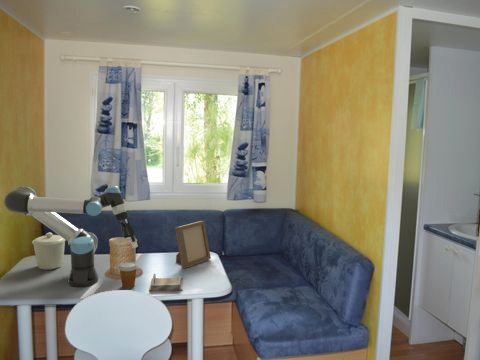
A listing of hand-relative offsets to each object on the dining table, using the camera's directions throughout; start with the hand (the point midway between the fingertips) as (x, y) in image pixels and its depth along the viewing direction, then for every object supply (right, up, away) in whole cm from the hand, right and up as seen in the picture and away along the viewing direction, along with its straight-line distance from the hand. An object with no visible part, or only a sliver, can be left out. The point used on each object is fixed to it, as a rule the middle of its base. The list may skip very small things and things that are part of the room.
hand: (133, 247), depth 224 cm
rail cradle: (+21, -18, -12) cm, 30 cm away
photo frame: (+30, -13, +25) cm, 41 cm away
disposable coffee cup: (+1, -18, -15) cm, 23 cm away
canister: (-52, -13, +10) cm, 55 cm away
